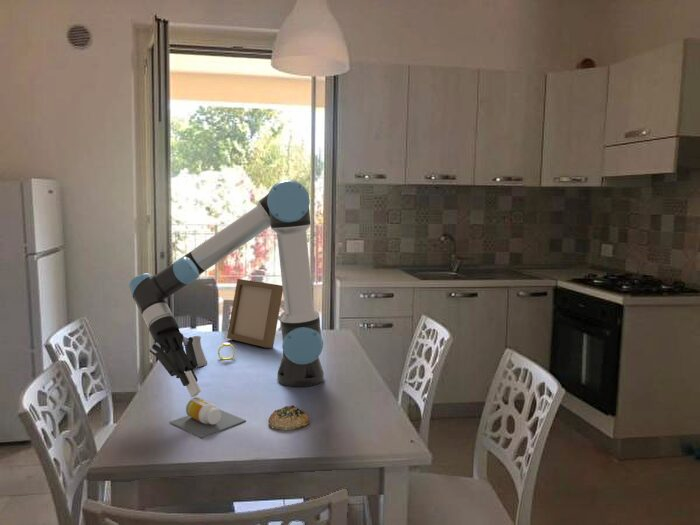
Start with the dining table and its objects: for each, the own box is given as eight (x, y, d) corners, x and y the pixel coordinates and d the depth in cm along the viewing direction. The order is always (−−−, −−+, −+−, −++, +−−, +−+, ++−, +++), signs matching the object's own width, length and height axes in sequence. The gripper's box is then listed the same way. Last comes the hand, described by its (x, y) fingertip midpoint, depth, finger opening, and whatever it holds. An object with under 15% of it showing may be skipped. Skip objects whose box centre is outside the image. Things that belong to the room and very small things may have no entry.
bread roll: (284, 411, 159) (286, 395, 157) (316, 425, 153) (318, 408, 152) (258, 426, 149) (260, 409, 148) (292, 441, 144) (294, 424, 143)
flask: (201, 368, 195) (201, 340, 194) (182, 366, 196) (181, 338, 195) (210, 362, 202) (210, 335, 201) (192, 360, 203) (191, 333, 202)
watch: (234, 358, 208) (235, 342, 208) (234, 360, 206) (235, 344, 205) (217, 358, 207) (218, 342, 206) (217, 360, 204) (218, 344, 203)
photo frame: (265, 349, 219) (266, 286, 216) (226, 340, 231) (227, 280, 228) (290, 342, 231) (291, 282, 228) (252, 334, 243) (253, 276, 240)
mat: (169, 423, 149) (169, 421, 149) (213, 408, 160) (213, 406, 160) (202, 438, 140) (202, 437, 140) (245, 421, 151) (245, 420, 151)
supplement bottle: (188, 420, 151) (208, 431, 145) (182, 403, 150) (203, 414, 143) (204, 409, 155) (225, 419, 149) (199, 393, 153) (220, 402, 147)
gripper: (175, 326, 167) (210, 395, 159) (134, 334, 157) (168, 407, 149) (186, 311, 163) (222, 381, 155) (144, 318, 153) (180, 393, 145)
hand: (196, 394), depth 152 cm, fingers closed
